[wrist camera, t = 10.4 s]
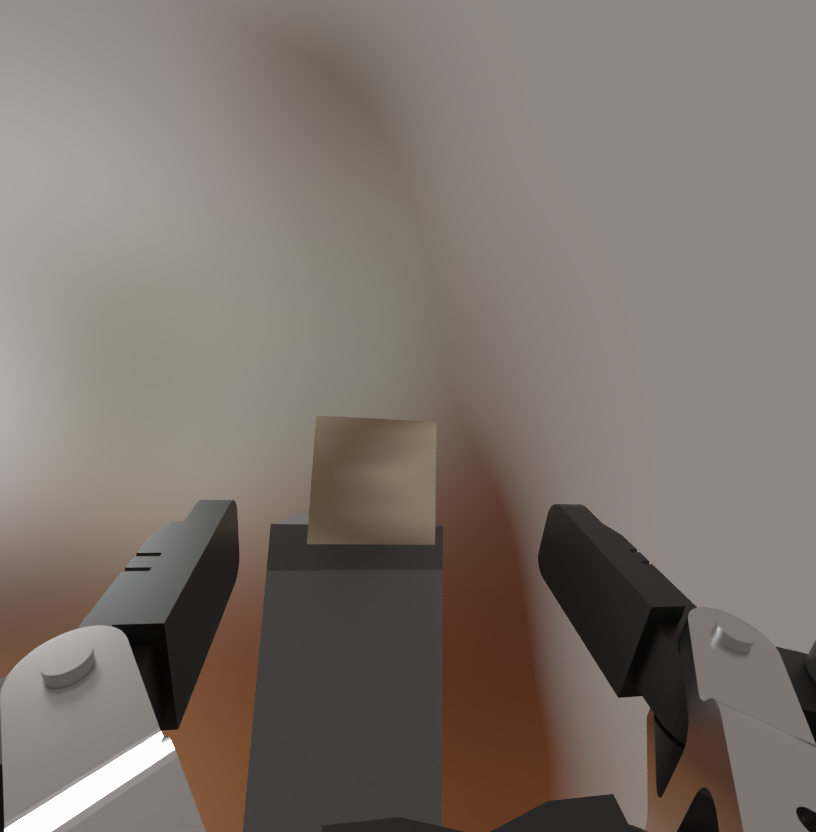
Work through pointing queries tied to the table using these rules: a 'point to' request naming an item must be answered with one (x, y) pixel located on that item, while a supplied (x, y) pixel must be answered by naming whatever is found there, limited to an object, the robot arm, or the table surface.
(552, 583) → the robot arm
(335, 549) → the pedestal
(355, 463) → the handle bar
